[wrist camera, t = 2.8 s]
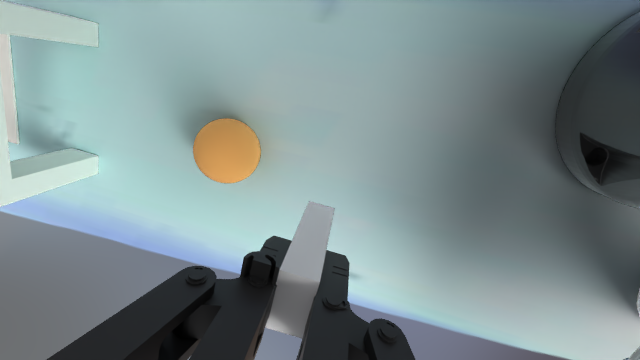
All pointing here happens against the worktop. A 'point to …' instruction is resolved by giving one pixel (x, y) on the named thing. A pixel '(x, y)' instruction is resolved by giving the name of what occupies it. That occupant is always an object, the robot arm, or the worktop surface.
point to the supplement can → (638, 302)
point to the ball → (227, 150)
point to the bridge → (4, 175)
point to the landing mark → (8, 89)
